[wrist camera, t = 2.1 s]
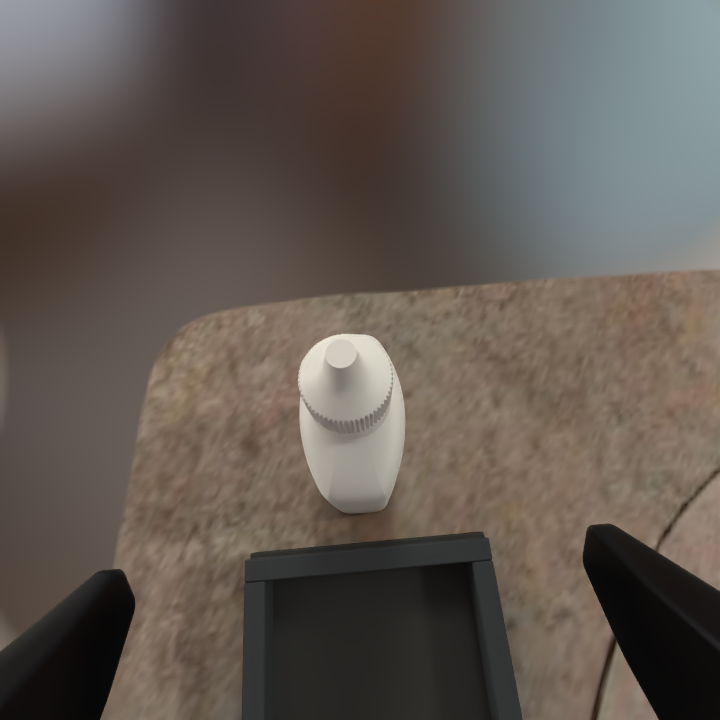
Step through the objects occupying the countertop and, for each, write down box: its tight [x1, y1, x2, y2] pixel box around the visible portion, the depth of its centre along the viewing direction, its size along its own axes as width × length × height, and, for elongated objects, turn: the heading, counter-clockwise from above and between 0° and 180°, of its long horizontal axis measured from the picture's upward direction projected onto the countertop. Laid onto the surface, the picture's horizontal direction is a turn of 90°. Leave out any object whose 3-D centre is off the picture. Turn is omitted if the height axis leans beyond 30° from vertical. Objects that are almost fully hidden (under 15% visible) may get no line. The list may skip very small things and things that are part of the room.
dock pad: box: [242, 532, 523, 720], centre depth 16 cm, size 10×10×2 cm
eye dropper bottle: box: [298, 334, 405, 514], centre depth 15 cm, size 4×6×12 cm
